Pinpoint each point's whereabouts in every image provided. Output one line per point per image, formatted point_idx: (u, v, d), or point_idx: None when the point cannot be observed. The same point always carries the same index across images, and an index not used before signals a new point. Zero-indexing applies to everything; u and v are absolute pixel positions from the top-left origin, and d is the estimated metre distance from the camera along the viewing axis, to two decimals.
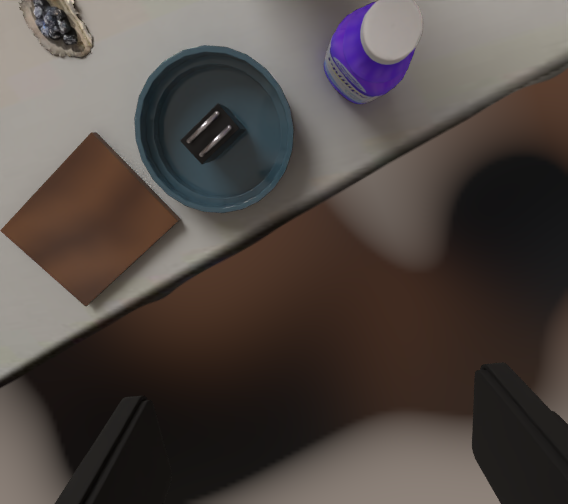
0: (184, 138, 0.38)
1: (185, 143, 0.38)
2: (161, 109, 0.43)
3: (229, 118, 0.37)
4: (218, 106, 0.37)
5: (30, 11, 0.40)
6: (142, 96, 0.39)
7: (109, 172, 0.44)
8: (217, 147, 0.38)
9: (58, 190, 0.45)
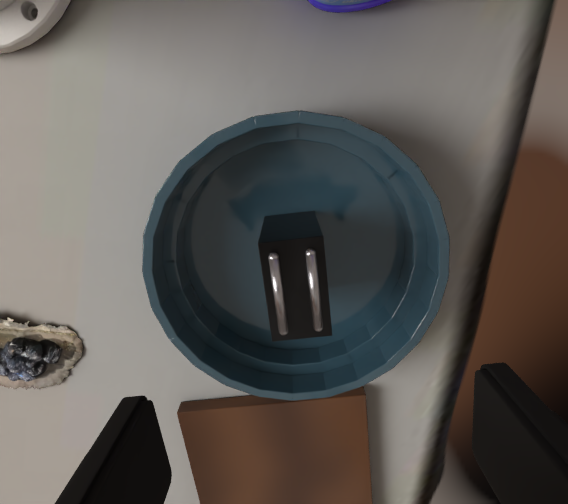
0: (274, 333, 0.19)
1: (282, 337, 0.19)
2: (206, 309, 0.25)
3: (295, 241, 0.18)
4: (263, 246, 0.18)
5: None
6: (172, 335, 0.22)
7: (240, 428, 0.28)
8: (325, 293, 0.19)
9: (218, 493, 0.30)
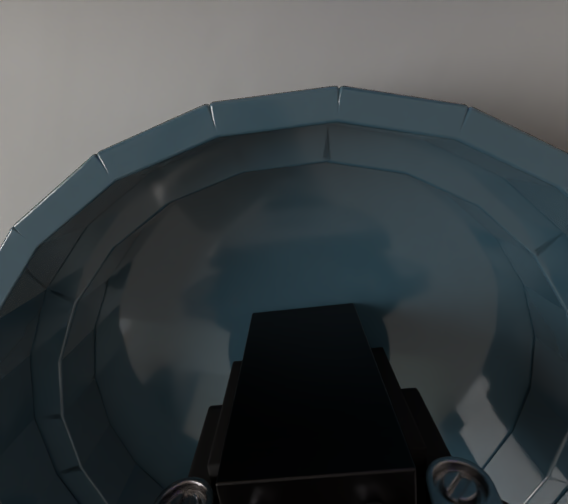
0: None
1: None
2: (143, 476, 0.13)
3: (329, 482, 0.06)
4: (233, 491, 0.06)
5: None
6: None
7: None
8: None
9: None
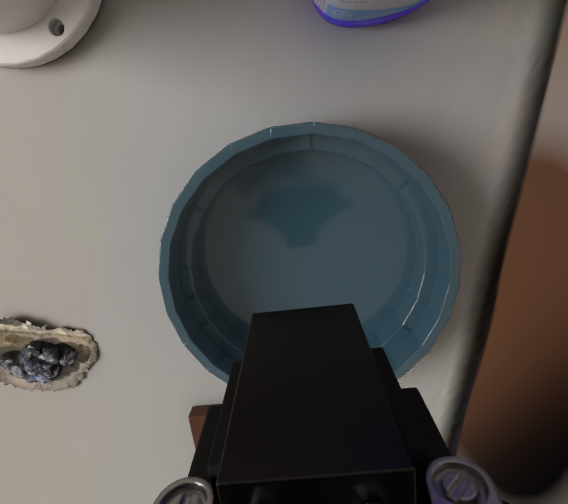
0: None
1: None
2: (218, 315, 0.26)
3: (329, 482, 0.06)
4: (233, 491, 0.06)
5: (13, 376, 0.27)
6: (186, 339, 0.23)
7: None
8: None
9: None
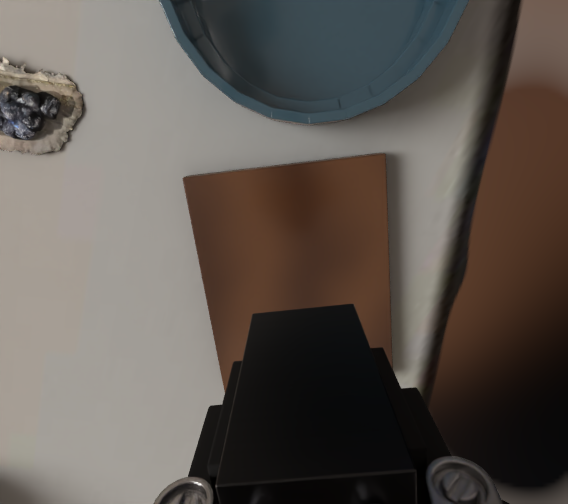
0: None
1: None
2: (215, 47, 0.24)
3: (329, 484, 0.06)
4: (233, 492, 0.06)
5: None
6: (179, 32, 0.20)
7: (250, 197, 0.26)
8: None
9: (226, 285, 0.28)
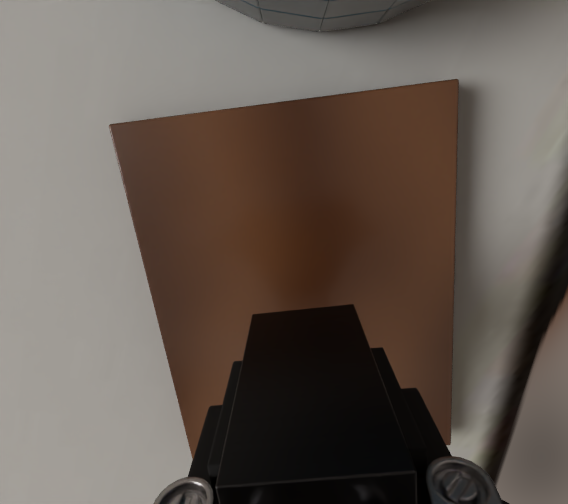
0: None
1: None
2: None
3: (329, 485, 0.06)
4: (233, 494, 0.06)
5: None
6: None
7: (224, 159, 0.15)
8: None
9: (190, 305, 0.17)
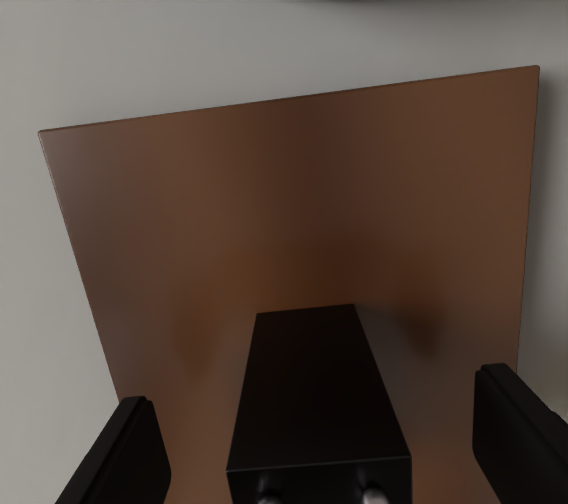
0: None
1: None
2: None
3: (331, 469, 0.06)
4: (242, 477, 0.06)
5: None
6: None
7: (201, 179, 0.11)
8: None
9: (158, 373, 0.13)
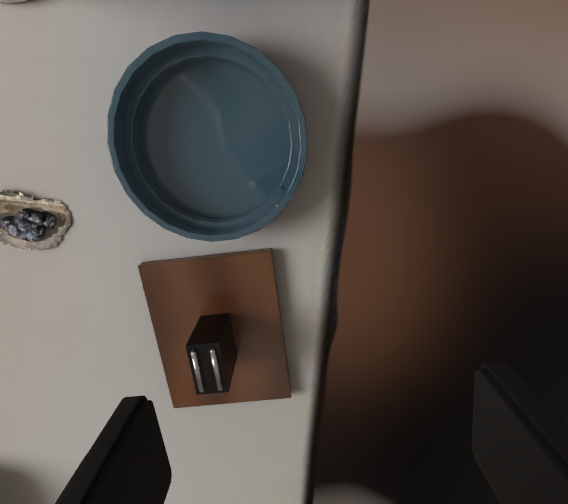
0: (197, 390, 0.36)
1: (201, 392, 0.36)
2: (156, 186, 0.36)
3: (204, 345, 0.34)
4: (188, 347, 0.34)
5: (10, 236, 0.38)
6: (128, 190, 0.33)
7: (183, 278, 0.39)
8: (223, 370, 0.35)
9: (170, 334, 0.41)
